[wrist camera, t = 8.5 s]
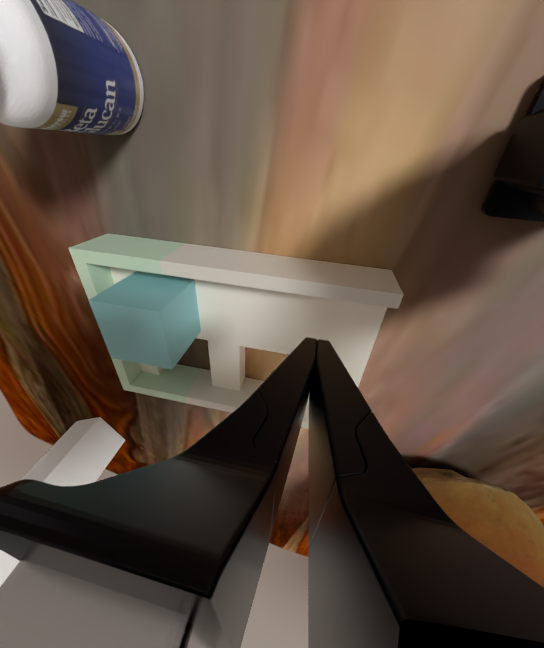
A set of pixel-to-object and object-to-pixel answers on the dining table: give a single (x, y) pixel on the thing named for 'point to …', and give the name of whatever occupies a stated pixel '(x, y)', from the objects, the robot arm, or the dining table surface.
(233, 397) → the box
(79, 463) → the milk
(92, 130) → the pill bottle
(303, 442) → the dining table surface
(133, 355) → the block
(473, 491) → the ceramic pitcher
